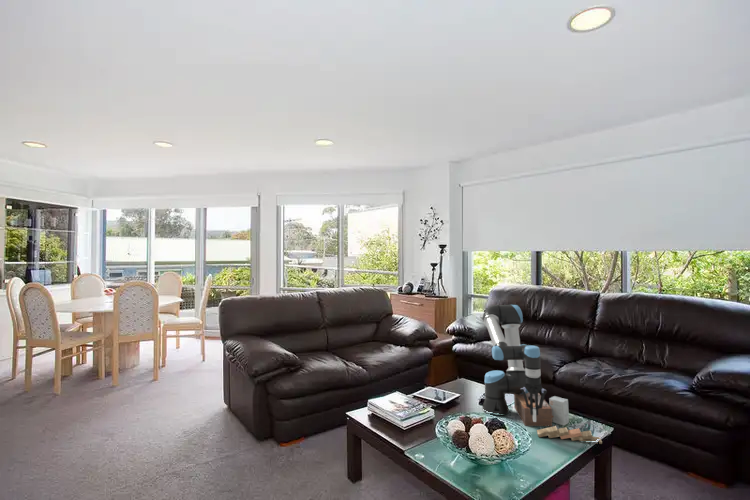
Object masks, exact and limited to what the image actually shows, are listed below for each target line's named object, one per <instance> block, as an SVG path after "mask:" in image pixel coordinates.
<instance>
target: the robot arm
mask: <svg viewBox="0 0 750 500" xmlns="http://www.w3.org/2000/svg"><path fill="white" fill-rule="evenodd" d="M523 317H524V316H523V311H522V309H521V308H520V306H519V305H518V304H493V305H490V306H489V307H487V308H486V309H485V311H484V312H483V313H482V322H483V325H484V326H485V327H486V329H487V331H488V334H489V337H490V339H491V342H492V345H493V346H492V347H491V356H492V359H494V361H507V366H508V368H507V369H506V370H505V371H506V373H505V372H504V370H498V369H497V370H490V371H488V372H486V373H485V375H484V400H483V403H482V410H483V409H484V410H486V411H488V412H493V413H499V414H506V415H507V414H509V412H510V411H509V409H510V408H509V406H508V403H507V401H506V395H514V394H523V395H524V398H525V402H526V405H527V407H529V408H530V413H531V415H533V422H536V415H538V409H539V408H542V405H543V401H544V400H545V396H546V394H547V393H548V391H547V389H546V388H543V386H542V378H541V375H542V373H541V351H540V347H539V346H537V345H531V344H530V345H529V344H528V345H527V344H524V343H523V344H521V338H520V331H519V328H520V326H521V324H522V323H523V322H524V321H523V320H524V318H523ZM500 324H501V326H500ZM502 329H504V333H503V331H502ZM523 361H524V362H523ZM540 392H541V394H540ZM527 393H530V405H529V403H528V400H527V396H526V394H527ZM538 393H539V394H540V395H541V398H540V403H539V405H538ZM533 394H535V408H534V407H533Z"/></svg>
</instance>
